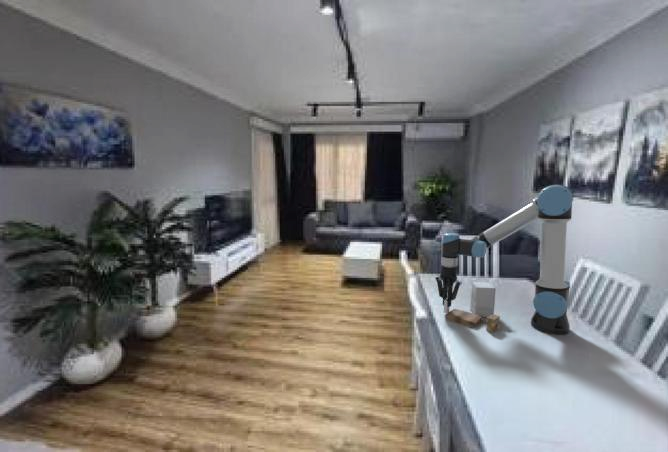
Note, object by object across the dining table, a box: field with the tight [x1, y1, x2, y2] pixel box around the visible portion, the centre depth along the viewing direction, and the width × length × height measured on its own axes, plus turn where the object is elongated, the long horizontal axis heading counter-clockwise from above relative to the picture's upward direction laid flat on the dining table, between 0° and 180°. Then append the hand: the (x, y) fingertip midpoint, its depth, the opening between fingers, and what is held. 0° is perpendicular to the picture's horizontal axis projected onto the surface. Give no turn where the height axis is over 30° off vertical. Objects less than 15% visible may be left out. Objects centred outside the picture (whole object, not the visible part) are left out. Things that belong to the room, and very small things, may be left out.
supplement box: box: [469, 281, 496, 318], centre depth 180 cm, size 9×9×15 cm
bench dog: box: [485, 313, 501, 334], centre depth 163 cm, size 3×6×6 cm, turn 134°
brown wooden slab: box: [444, 308, 484, 329], centre depth 173 cm, size 14×10×3 cm
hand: (446, 312), depth 179 cm, fingers closed
